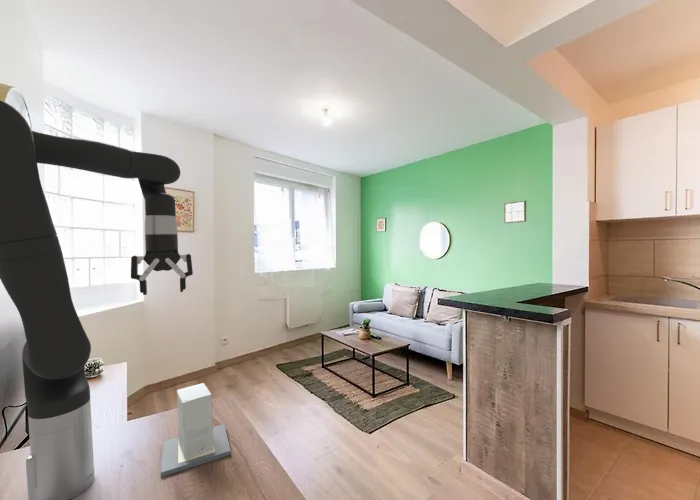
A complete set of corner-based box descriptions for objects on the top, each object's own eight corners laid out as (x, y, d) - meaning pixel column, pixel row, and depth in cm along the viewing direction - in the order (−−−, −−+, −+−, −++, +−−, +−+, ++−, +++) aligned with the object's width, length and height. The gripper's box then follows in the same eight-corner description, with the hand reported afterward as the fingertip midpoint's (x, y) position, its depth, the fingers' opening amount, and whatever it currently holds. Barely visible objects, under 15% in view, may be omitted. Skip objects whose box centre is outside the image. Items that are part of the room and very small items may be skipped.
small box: (214, 448, 74) (212, 394, 74) (184, 460, 70) (182, 403, 70) (205, 431, 81) (204, 381, 80) (178, 441, 77) (175, 389, 76)
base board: (160, 477, 67) (160, 472, 67) (163, 444, 78) (163, 440, 77) (230, 454, 74) (230, 450, 73) (224, 427, 84) (224, 423, 84)
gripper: (127, 233, 78) (130, 298, 79) (191, 232, 85) (193, 292, 85) (131, 233, 85) (134, 293, 85) (190, 233, 91) (192, 288, 92)
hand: (163, 293), depth 85 cm, fingers open, 8 cm apart
